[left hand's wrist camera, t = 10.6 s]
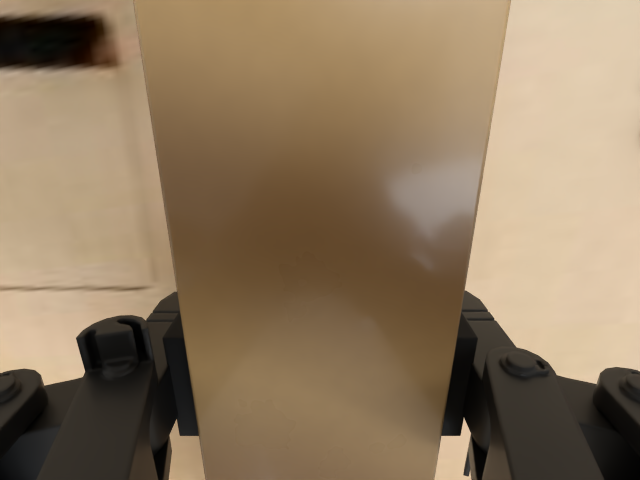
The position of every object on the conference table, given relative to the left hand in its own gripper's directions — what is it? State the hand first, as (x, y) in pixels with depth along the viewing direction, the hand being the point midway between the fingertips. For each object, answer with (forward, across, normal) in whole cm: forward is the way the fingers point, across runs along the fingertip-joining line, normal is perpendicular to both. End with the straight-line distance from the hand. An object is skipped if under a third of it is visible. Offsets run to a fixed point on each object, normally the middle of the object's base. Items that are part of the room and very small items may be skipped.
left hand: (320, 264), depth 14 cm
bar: (+1, 0, -23) cm, 23 cm away
